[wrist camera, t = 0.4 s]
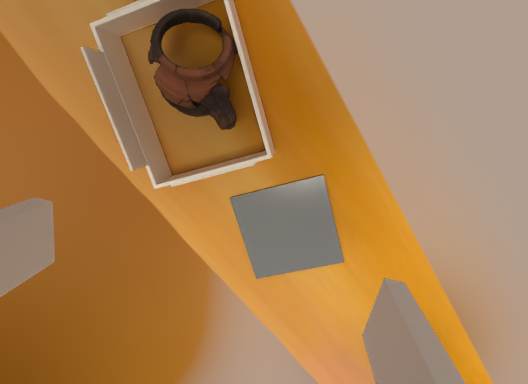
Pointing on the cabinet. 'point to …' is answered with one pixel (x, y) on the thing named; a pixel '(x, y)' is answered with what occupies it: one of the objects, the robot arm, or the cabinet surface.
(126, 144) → the carton
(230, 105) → the pottery mug
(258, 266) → the slate mat
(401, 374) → the robot arm
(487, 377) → the cabinet surface
